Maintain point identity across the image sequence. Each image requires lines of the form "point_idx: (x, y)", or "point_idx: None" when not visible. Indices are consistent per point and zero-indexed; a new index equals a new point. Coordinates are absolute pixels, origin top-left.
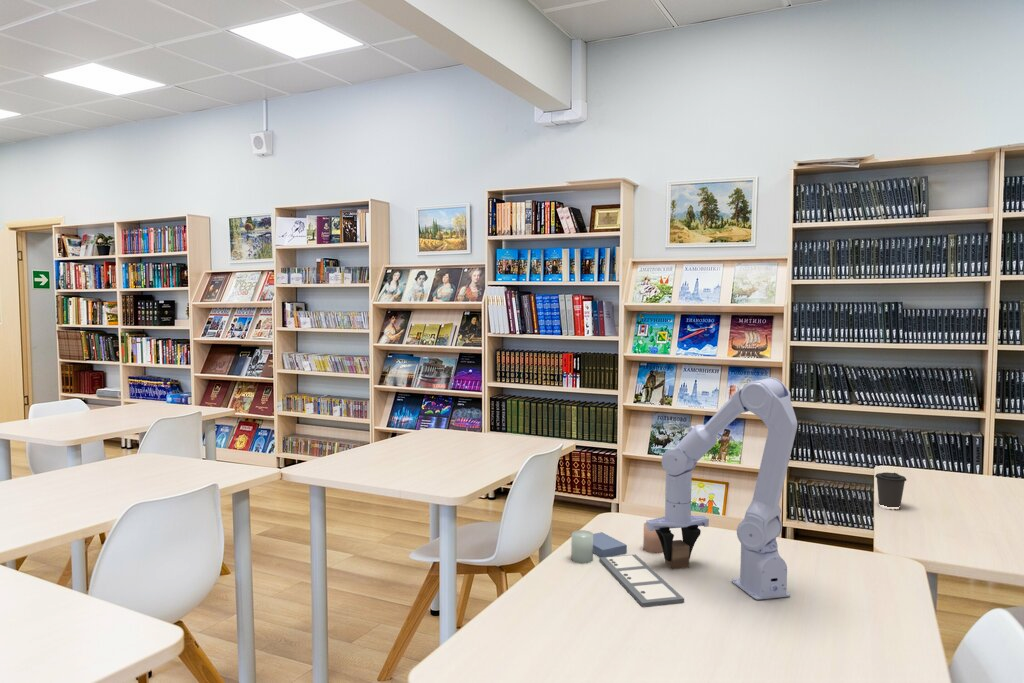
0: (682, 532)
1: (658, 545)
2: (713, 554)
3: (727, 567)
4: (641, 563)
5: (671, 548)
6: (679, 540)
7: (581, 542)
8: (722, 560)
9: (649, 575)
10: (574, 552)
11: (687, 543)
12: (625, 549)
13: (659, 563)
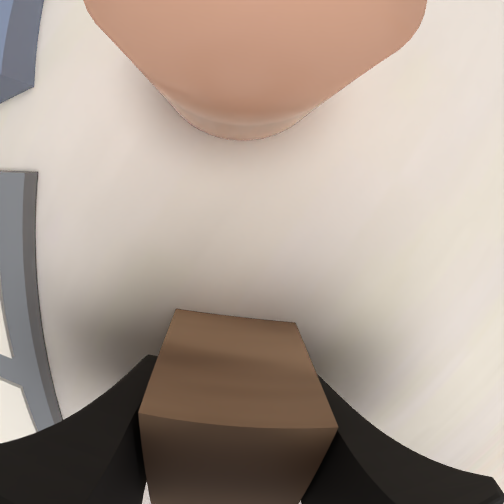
0: (371, 494)
1: (229, 129)
2: (496, 289)
3: (424, 424)
4: (13, 318)
5: (144, 485)
6: (308, 437)
7: None
8: (470, 362)
9: (26, 435)
10: None
11: (311, 495)
12: (10, 85)
13: (133, 309)
